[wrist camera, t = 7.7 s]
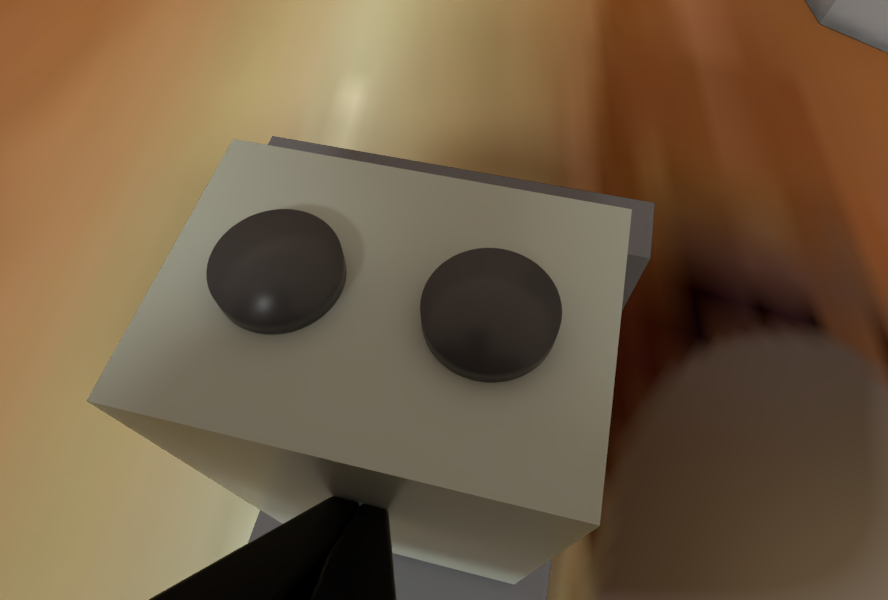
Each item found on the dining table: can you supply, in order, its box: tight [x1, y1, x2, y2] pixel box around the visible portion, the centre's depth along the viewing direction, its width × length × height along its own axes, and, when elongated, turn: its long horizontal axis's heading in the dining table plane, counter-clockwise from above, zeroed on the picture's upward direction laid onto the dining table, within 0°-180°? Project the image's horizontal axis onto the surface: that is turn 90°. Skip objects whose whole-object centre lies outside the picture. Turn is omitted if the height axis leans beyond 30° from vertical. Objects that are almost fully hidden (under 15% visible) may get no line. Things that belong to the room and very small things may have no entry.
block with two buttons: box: [87, 139, 632, 584], centre depth 11 cm, size 4×6×9 cm
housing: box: [248, 136, 655, 600], centre depth 12 cm, size 8×7×8 cm
